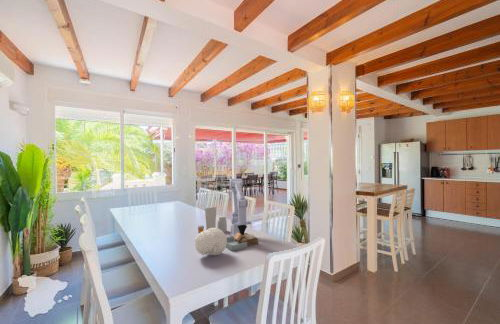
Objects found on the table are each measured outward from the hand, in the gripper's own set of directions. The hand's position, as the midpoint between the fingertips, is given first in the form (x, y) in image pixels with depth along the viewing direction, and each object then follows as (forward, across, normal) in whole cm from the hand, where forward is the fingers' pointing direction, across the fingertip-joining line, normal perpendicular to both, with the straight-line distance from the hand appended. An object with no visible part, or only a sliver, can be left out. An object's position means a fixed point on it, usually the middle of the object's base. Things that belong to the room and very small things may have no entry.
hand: (242, 235), depth 167 cm
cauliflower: (+5, -29, -10) cm, 31 cm away
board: (+5, +2, -2) cm, 6 cm away
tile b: (+1, +3, -6) cm, 6 cm away
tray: (+5, -9, -2) cm, 10 cm away
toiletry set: (+5, -8, +30) cm, 31 cm away
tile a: (+1, -3, 0) cm, 3 cm away
